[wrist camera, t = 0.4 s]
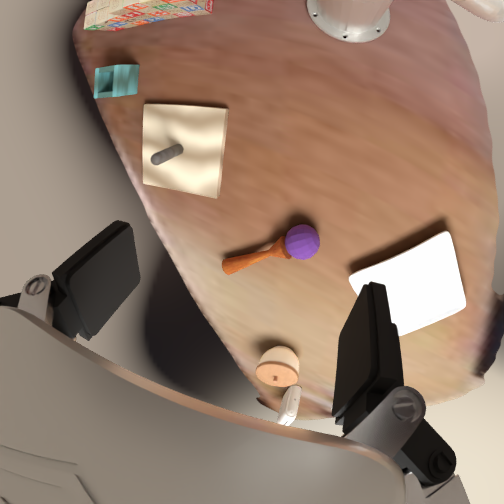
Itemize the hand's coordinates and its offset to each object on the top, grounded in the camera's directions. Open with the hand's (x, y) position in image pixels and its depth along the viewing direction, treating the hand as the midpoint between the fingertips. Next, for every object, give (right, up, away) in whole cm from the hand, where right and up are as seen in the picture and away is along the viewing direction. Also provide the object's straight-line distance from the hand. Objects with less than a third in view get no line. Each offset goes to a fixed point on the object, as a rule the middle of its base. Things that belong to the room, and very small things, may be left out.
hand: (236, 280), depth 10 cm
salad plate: (+33, -5, +38) cm, 51 cm away
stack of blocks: (-16, +45, +21) cm, 52 cm away
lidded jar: (+9, -25, +58) cm, 64 cm away
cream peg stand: (-12, +20, +35) cm, 42 cm away
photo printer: (+14, -44, +69) cm, 82 cm away
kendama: (+4, +2, +42) cm, 42 cm away
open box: (-24, +34, +30) cm, 51 cm away
